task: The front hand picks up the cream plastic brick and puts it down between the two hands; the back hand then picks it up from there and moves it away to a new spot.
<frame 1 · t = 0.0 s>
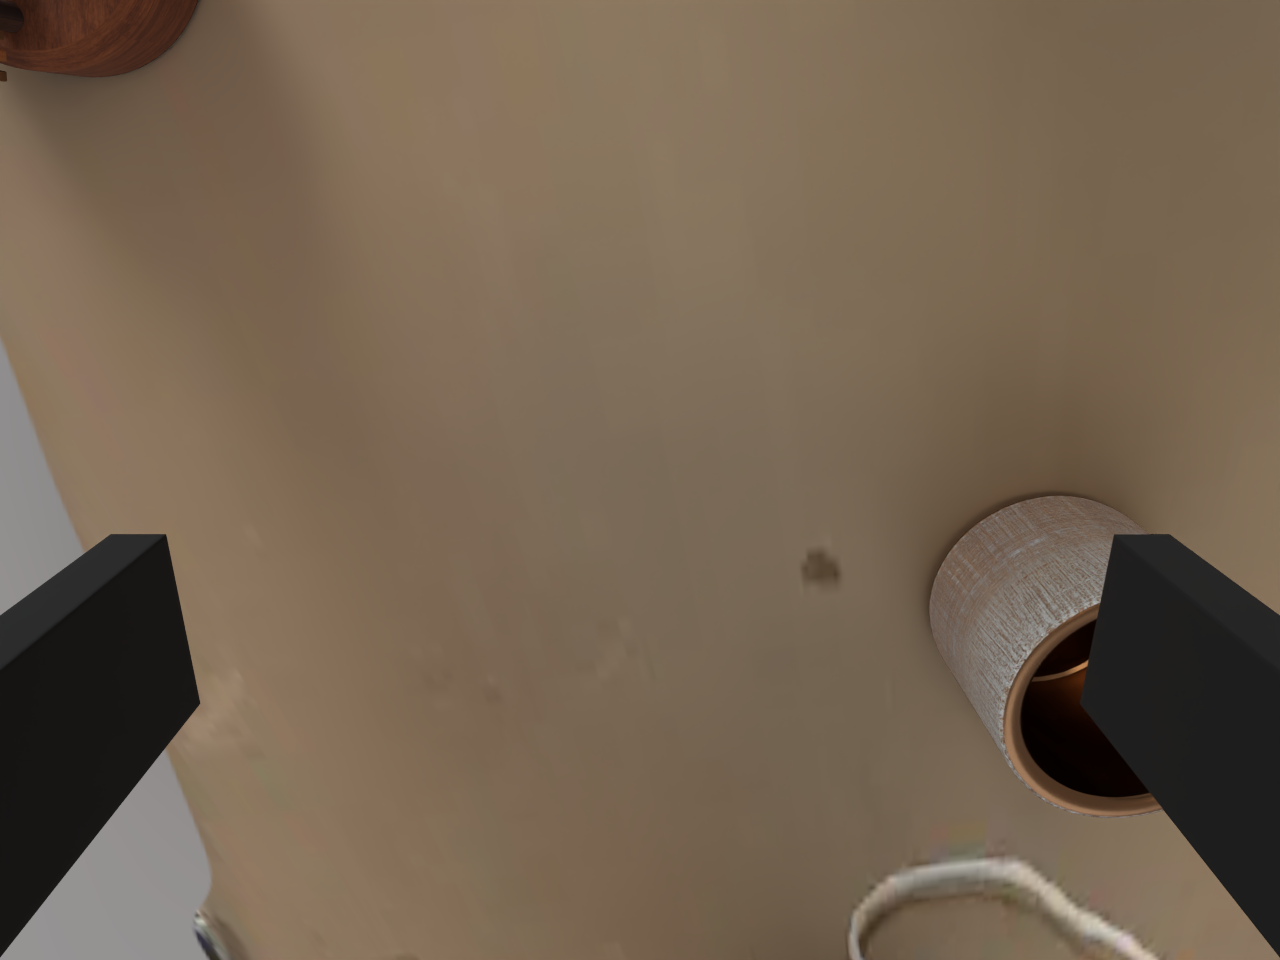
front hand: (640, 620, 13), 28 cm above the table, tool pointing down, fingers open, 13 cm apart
planter: (1034, 591, 44), on the table
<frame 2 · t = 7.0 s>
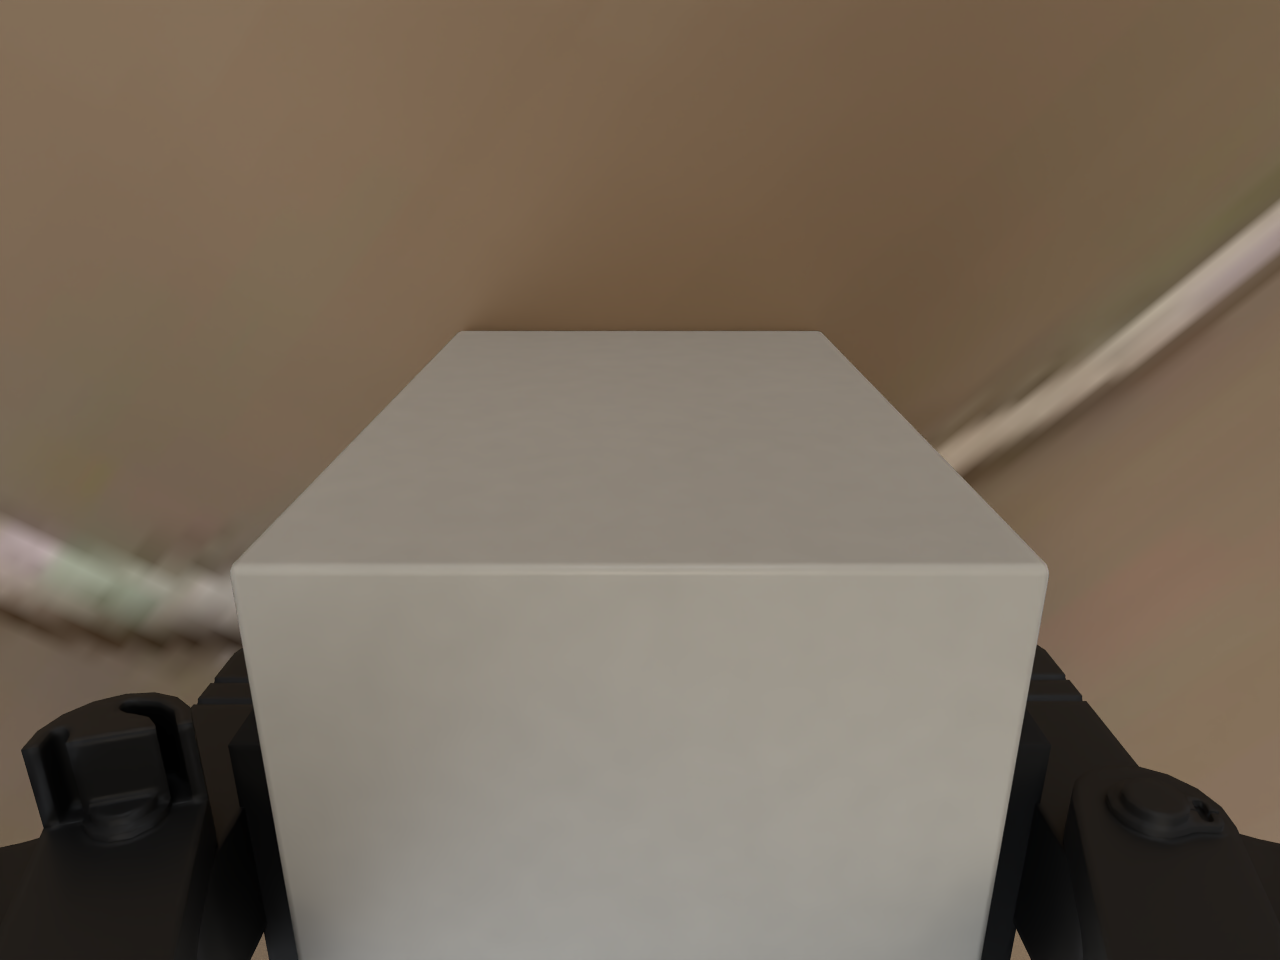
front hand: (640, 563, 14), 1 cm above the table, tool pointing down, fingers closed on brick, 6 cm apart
brick: (639, 536, 15), on the table, touching front hand
when the front hand's fingers open (2 cm above the table, at t = 18.6 s): brick stays where it is, on the table.
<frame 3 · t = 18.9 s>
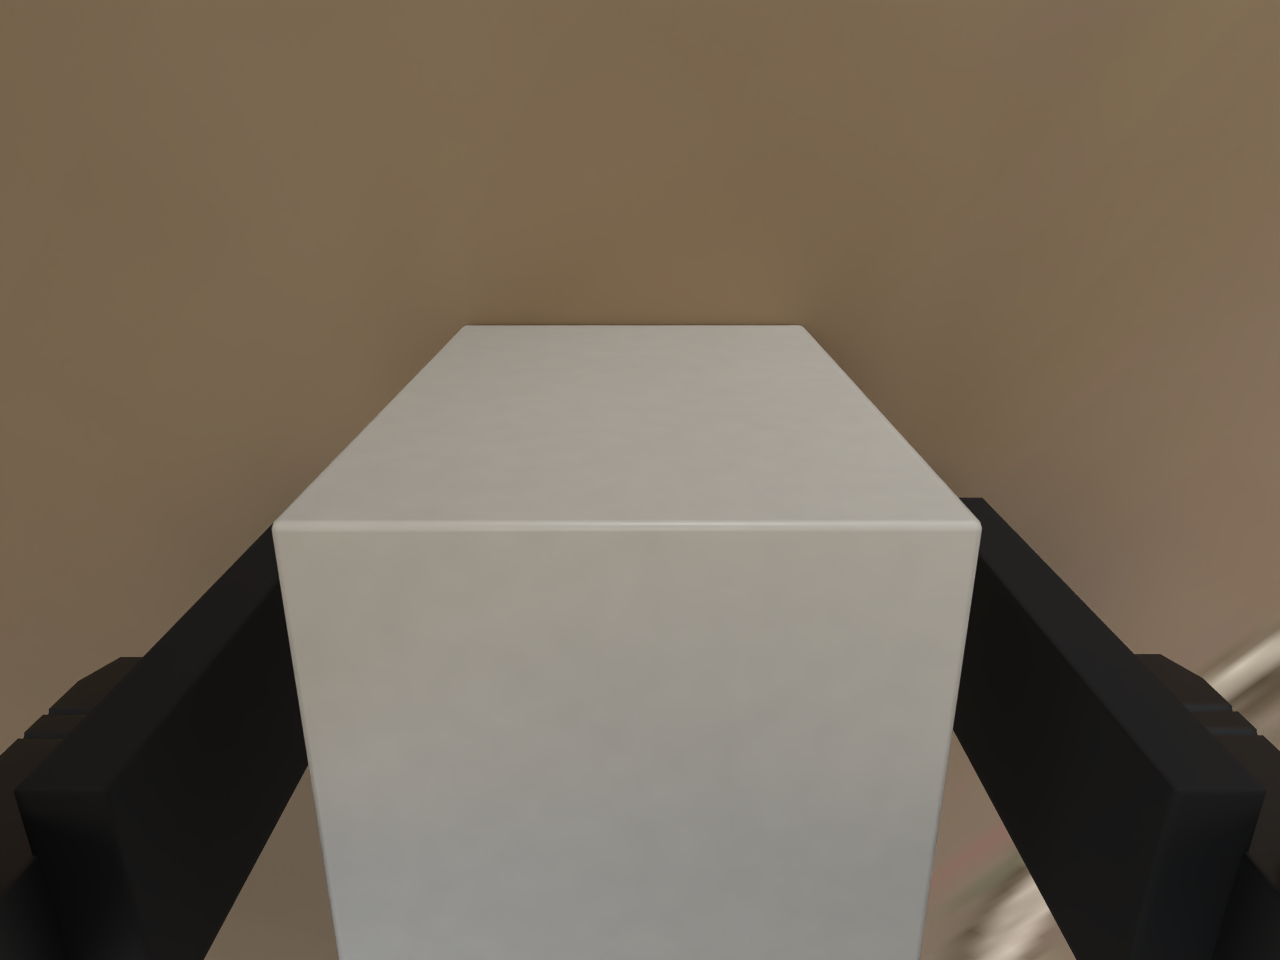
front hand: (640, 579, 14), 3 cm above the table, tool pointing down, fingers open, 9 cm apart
brick: (633, 519, 16), on the table
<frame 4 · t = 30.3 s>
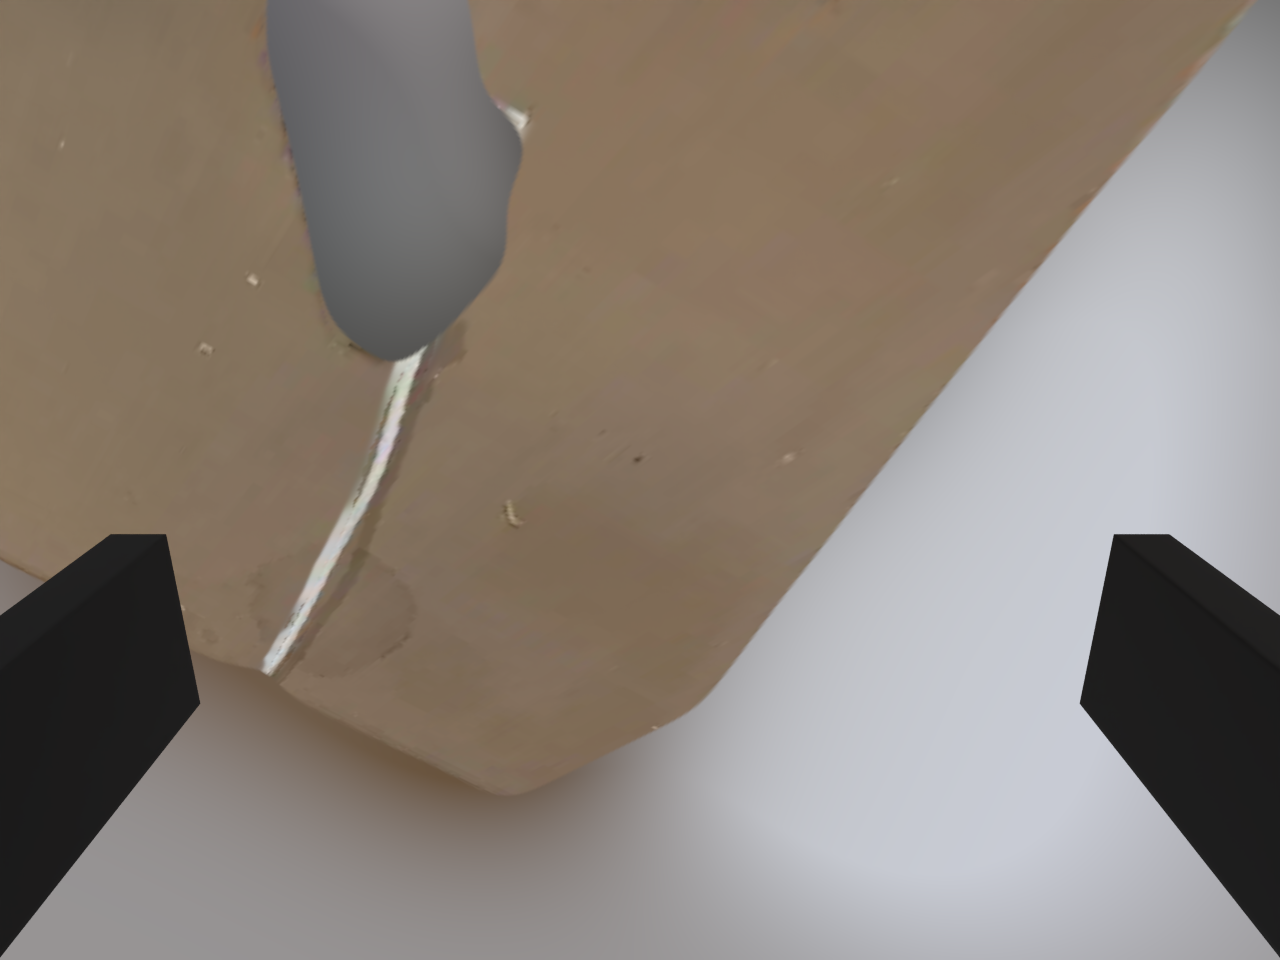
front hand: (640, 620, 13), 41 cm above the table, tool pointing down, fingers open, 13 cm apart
when the back hand's fingers open (2 cm above the table, at t = 41.5 s): brick stays where it is, on the table.
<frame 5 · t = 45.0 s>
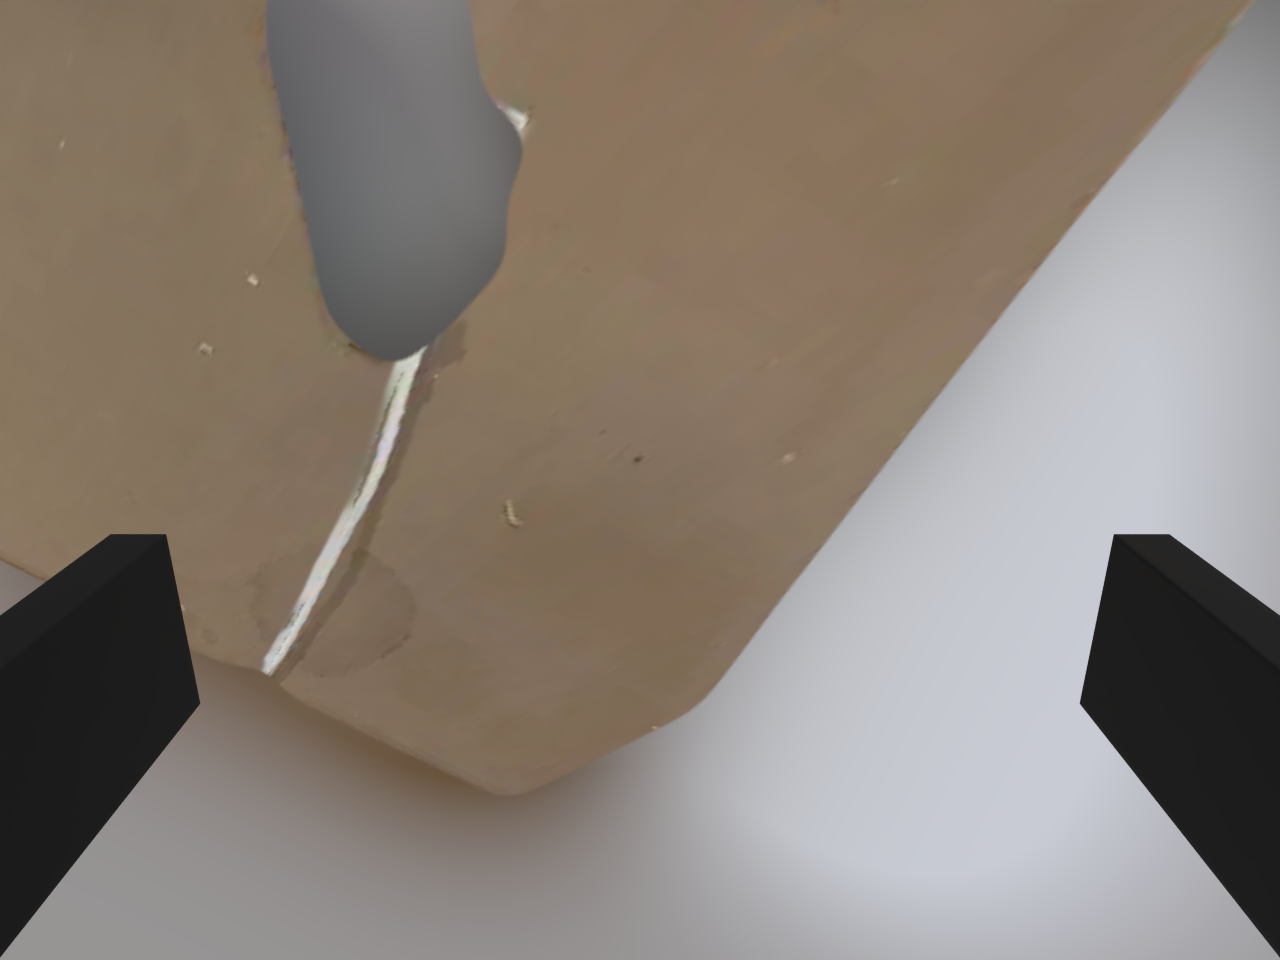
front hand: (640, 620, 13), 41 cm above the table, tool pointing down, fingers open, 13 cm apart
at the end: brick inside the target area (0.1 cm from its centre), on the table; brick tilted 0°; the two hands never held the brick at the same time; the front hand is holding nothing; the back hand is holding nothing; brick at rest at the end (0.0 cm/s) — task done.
